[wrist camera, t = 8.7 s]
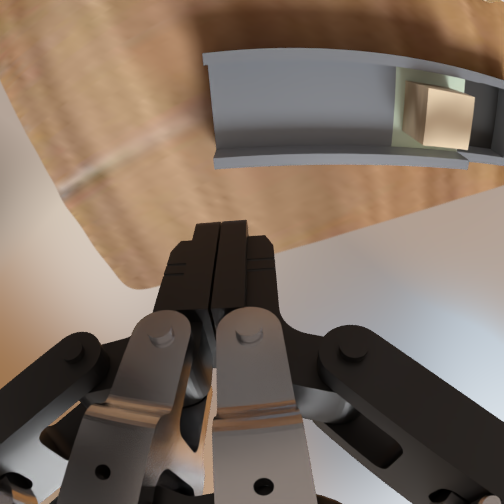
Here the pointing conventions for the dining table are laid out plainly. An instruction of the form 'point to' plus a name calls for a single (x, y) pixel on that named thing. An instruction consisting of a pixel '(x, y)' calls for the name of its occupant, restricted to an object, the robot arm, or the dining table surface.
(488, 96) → the channel deck
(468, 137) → the wood block
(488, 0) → the sprinkles bottle
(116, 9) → the dining table surface
